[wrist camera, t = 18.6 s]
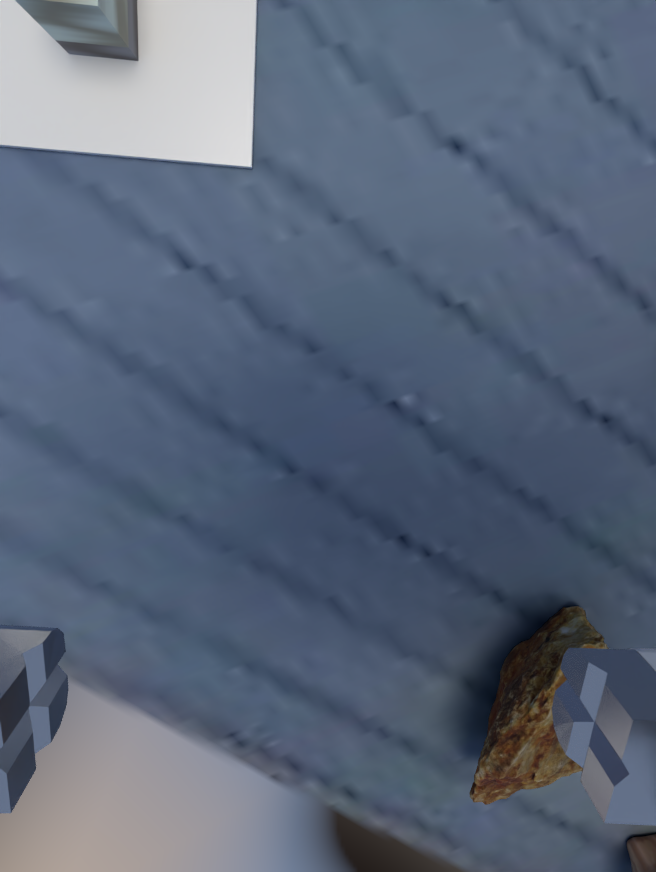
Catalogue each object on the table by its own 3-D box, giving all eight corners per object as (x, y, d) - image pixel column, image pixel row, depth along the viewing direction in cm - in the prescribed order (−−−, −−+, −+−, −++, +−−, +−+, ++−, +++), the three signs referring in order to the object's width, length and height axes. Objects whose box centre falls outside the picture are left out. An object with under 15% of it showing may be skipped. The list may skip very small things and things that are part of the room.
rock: (483, 752, 55) (584, 815, 49) (431, 826, 42) (558, 922, 37) (541, 578, 54) (651, 624, 48) (505, 602, 41) (648, 667, 36)
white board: (260, -109, 33) (260, -116, 32) (252, 168, 37) (251, 166, 37) (-68, -148, 32) (-75, -156, 31) (-38, 143, 36) (-43, 140, 36)
